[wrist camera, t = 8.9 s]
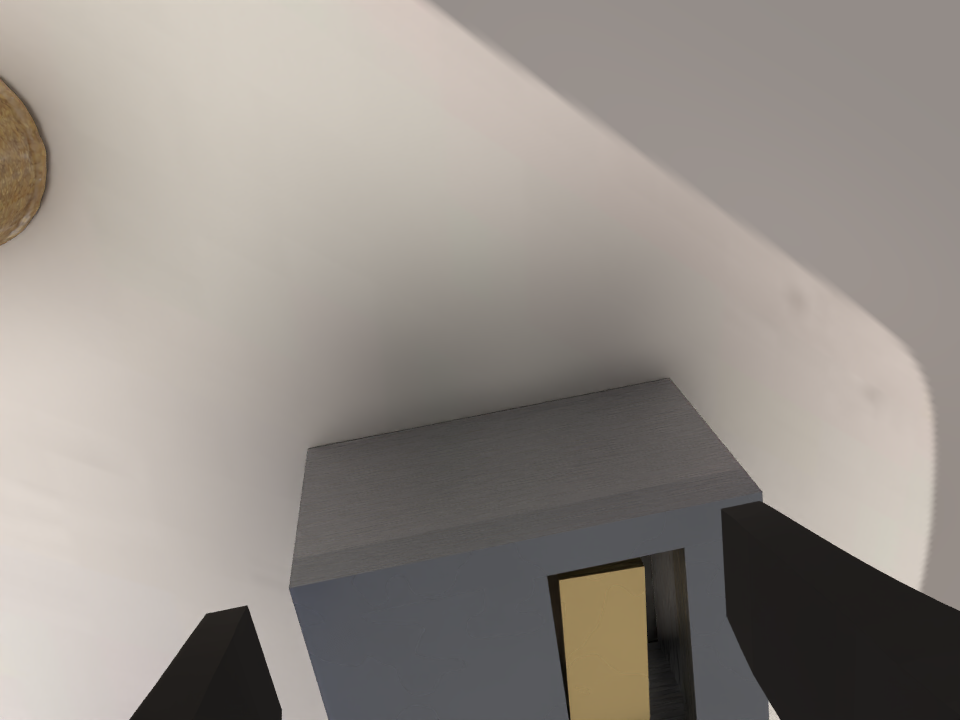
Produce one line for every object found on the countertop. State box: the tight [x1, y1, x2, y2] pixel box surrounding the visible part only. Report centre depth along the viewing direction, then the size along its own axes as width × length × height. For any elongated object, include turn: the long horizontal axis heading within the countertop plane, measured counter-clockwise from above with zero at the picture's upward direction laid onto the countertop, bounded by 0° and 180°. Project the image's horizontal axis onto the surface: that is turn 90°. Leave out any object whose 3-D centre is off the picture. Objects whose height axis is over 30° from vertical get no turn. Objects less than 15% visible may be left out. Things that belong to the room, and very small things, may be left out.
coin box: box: [289, 378, 769, 720], centre depth 22 cm, size 10×10×6 cm
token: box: [547, 557, 650, 720], centre depth 23 cm, size 5×2×5 cm, turn 6°
